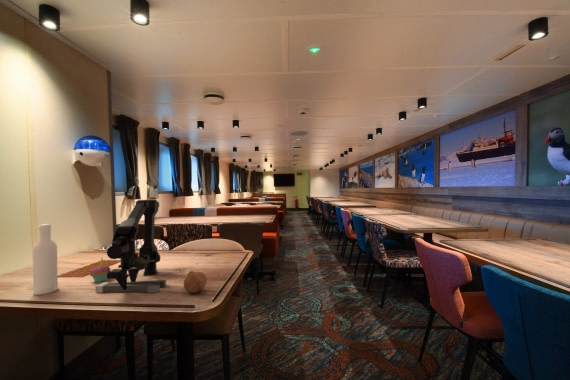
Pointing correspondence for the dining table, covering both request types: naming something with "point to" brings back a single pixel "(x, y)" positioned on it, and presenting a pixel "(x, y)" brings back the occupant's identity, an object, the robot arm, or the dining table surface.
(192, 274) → the tan round lump
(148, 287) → the tongs base
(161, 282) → the arm
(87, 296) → the dining table surface
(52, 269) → the bottle
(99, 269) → the cupcake
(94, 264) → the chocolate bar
